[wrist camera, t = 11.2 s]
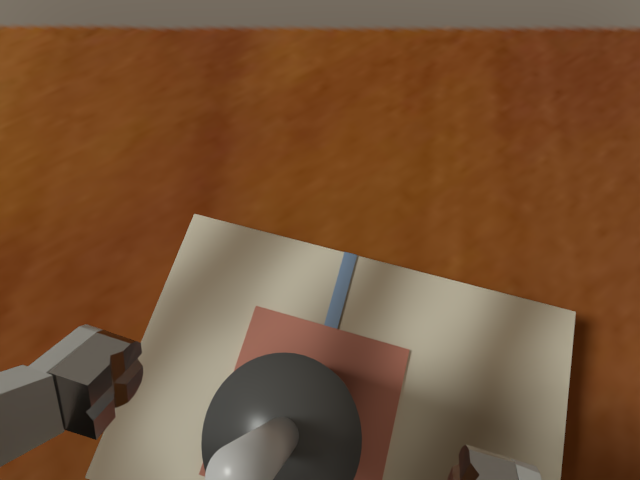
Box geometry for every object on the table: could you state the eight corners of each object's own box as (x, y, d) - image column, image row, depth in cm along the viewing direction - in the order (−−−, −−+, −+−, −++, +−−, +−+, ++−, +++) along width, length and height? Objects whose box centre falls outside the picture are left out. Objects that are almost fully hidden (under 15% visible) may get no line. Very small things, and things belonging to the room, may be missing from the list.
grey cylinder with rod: (362, 378, 17) (403, 376, 5) (340, 472, 16) (332, 711, 4) (281, 354, 17) (164, 305, 6) (254, 443, 16) (47, 589, 5)
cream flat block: (558, 316, 19) (577, 311, 17) (526, 625, 15) (546, 653, 14) (204, 224, 21) (193, 212, 20) (105, 469, 18) (83, 478, 16)
